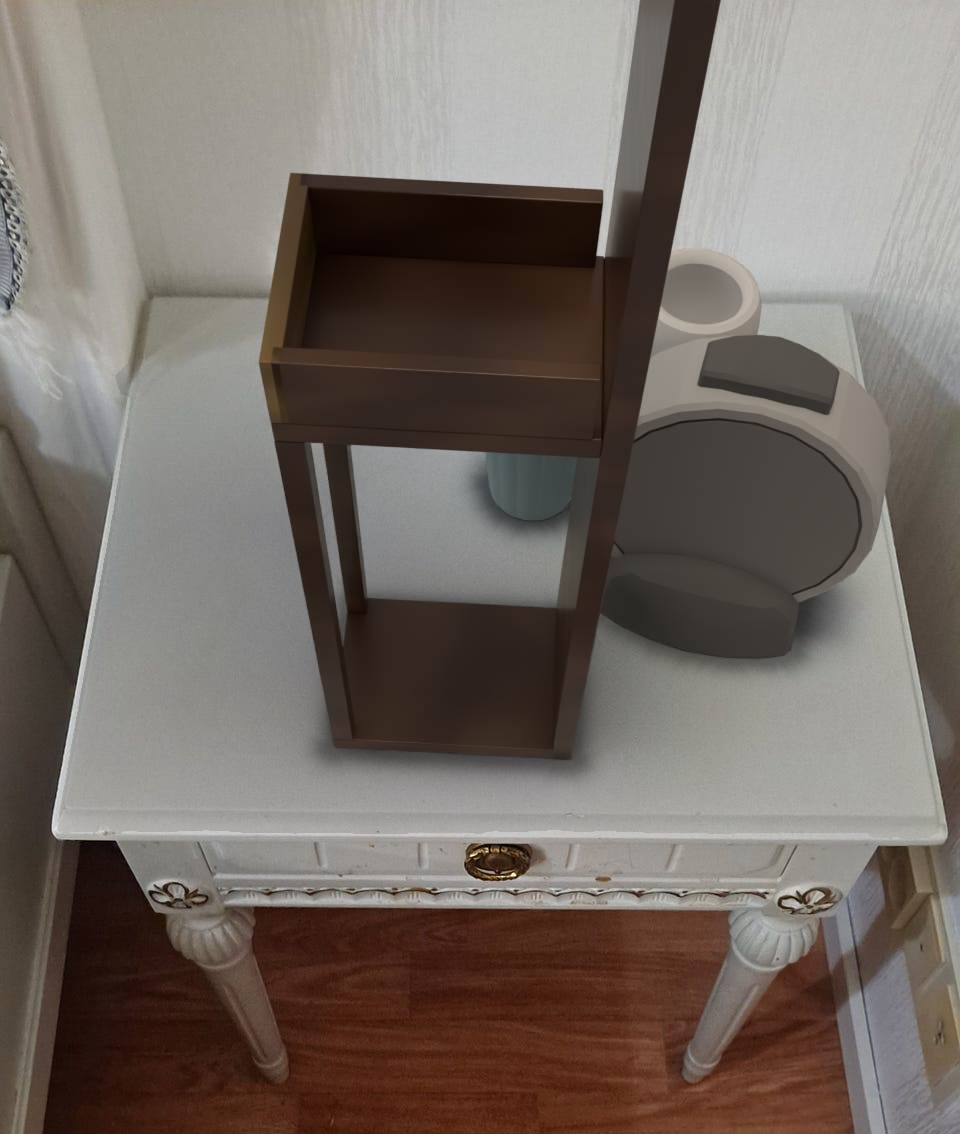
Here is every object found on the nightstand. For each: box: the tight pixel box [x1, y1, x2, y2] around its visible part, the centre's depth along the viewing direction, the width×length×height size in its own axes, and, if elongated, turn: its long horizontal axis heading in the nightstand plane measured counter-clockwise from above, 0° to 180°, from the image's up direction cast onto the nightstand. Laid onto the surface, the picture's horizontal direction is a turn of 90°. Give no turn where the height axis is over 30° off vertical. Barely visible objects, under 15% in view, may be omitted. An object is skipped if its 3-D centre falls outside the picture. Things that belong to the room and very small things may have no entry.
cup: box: [484, 452, 577, 521], centre depth 72 cm, size 8×8×10 cm
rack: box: [258, 0, 722, 761], centre depth 51 cm, size 14×10×42 cm
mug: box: [650, 247, 763, 358], centre depth 76 cm, size 12×8×8 cm
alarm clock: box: [600, 334, 892, 659], centre depth 65 cm, size 16×10×18 cm, turn 74°
